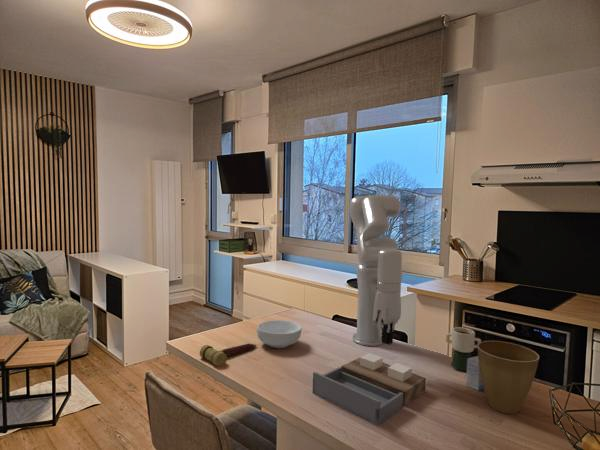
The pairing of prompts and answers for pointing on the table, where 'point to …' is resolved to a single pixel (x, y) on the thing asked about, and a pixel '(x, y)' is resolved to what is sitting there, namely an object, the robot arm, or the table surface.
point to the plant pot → (506, 374)
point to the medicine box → (474, 374)
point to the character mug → (462, 346)
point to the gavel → (223, 353)
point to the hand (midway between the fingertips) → (387, 343)
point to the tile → (399, 372)
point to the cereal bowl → (279, 333)
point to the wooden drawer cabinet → (387, 380)
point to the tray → (357, 395)
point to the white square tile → (371, 361)
